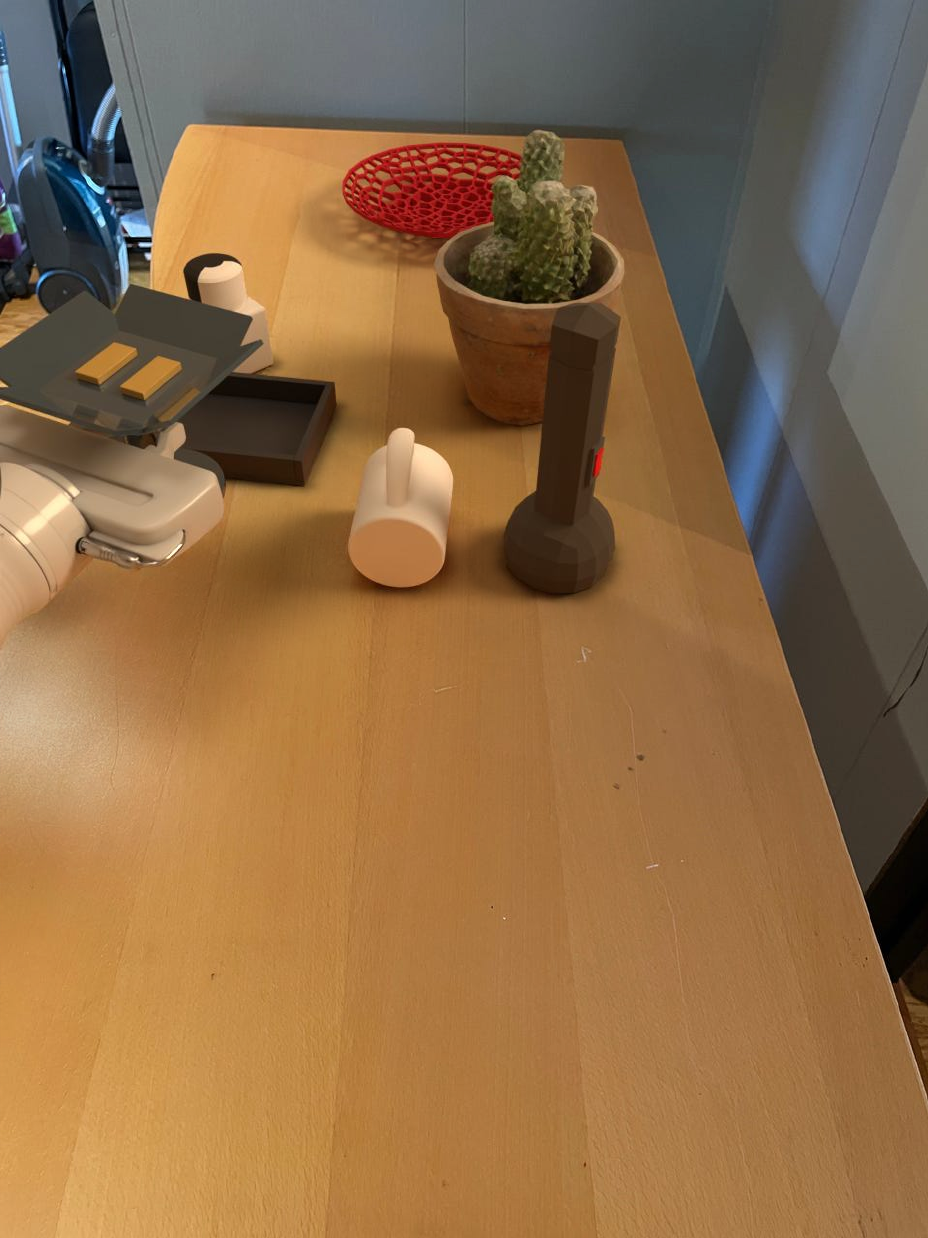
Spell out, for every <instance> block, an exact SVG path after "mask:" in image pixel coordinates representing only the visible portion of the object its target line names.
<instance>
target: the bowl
mask: <svg viewBox="0 0 928 1238" xmlns="http://www.w3.org/2000/svg"><path fill="white" fill-rule="evenodd" d="M432 149H433V151H431V152H426V151H423V150H432ZM452 149H462V151H454V150H452ZM469 150H470V151H469ZM471 150H473V151H471ZM474 150H475V151H474ZM411 151H415V152H417V153H418V154H417V155H412V154H411ZM405 152H406V155H407V156H402V155H400V153H401V154H402V153H405ZM483 152H489V153H492V154H493V153H494V155H485V154H483ZM441 155H448V156H450V157H448V158H446V157H442V156H441ZM501 155H502V156H505V157H507V160H505V161H503V160H500V159H499V157H500V156H501ZM434 157H436V158H437V161H434V162H431V163H428V162H427V161H428V159H430V158H434ZM462 157H463V158H462ZM393 159H397V160H398V161H392V160H393ZM513 159H514V160H513ZM479 160H481V162H480V161H479ZM515 160H517V161H515ZM375 161H376V162H375ZM416 161H418V162H421V163H423V164H420V165H416V163H415V162H416ZM377 162H378V163H381V164H378V163H377ZM519 162H520V163H522V158H521V154H519V153H516V152H513V151H510V150H507V149H505V148H500V147H496V146H495V147H494V146H489V145H485V144H478V143H477V144H476V143H467V142H441V141H440V142H431V143H430V142H428V143H419V144H417V143H416V144H408V145H403V146H398V147H393V148H390V149H387V150H383V151H381V152H377V153H375V154H372V155H370V156H368V157H366V158H364V159H362V160H359V162H358V163H356V164H355V165H353V166H352V167H351V168H349V170H348V171H347V172H346V175H345V176H344V178H343V180H342V187H341V188H342V189H341V190H342V192H341V193H342V196H343V199H344V201H345V204H346V205H347V206H348V207H349V208H350V209H351V210H352V211H353V212H354V213H356V214H357V215H358V216H360V217H361V218H363V219H365V221H368V222H370V223H373V224H374V225H375V224H376V225H378V226H380V227H382V228H385V229H388V230H391V231H394V232H400V233H404V234H408V235H412V236H418V237H425V238H432V239H443V240H444V239H447V240H448V239H451V238H453V237H454V236H455V235H457V234H458V233H459V232H462V231H465V230H467V229H470V228H472V227H476V226H479V225H483V224H486V223H490V222H494V219H493V212H492V210H491V205H492V200H493V199H494V194H493V191H492V185H493V184H494V183H495V182H492V181H490V180H492V179H494V178H496V177H499V176H509V177H510V178H512V179H514V180H515V181H516V180H517V179H519V176H520V172H517V173H512V172H511V170H514V169H517V170H518V171H520V169H521V168H520V165H519ZM403 163H410V165H409V166H402V164H403ZM453 163H454V164H455V163H456V164H459V165H461V166H457V167H453V166H451V165H450V164H453ZM471 163H472V164H474V165H475V169H473V168H470V167H468V166H465V165H466V164H471ZM366 165H370V166H371V167H373V169H371V168H368V167H367V166H366ZM485 167H489V168H490V167H491V168H494V169H496V170H493V171H491V172H488V173H486V172H482V171H480V170H481V169H483V168H485ZM360 169H362V170H363V173H357V172H358V171H359V170H360ZM434 169H442V170H443V169H444V170H445V171H447V172H448V173H447V174H439V173H437V174H436V173H433V171H432V170H434ZM378 172H382V173H385V174H388V175H389V176H390V178H388V179H386V180H383V179H381V178H379V177H378V176H377V175H376V174H377V173H378ZM422 172H423V173H422ZM425 172H426V173H425ZM413 173H414V174H415V175H412V176H410V175H408V174H413ZM368 174H369V175H372V177H369V176H368ZM459 174H466V175H468V176H471V177H472V178H458V177H455V176H454V175H459ZM395 175H396V176H395ZM359 180H365V181H366V182H367V183H368V184H369V185H368V186H365V187H364V186H363V185H361V184H360V183H359V182H358V181H359ZM349 181H350V182H351V183H352V185H351V184H349V183H348V182H349ZM402 182H406V183H409V184H403V183H402ZM427 183H429V184H427ZM373 184H377V185H379V186H380V188H379V187H376V186H374V185H373ZM394 185H395V186H396V187H397V189H398V190H399V191H397V192H396V191H395V192H390V191H387V190H385V189H386V188H388V187H391V186H394ZM346 189H347V190H348V191H349V192H348V191H346ZM370 193H374V194H376V195H378V197H377V196H376V195H375V196H374V195H372V194H370ZM383 198H384V199H387V200H389V201H391V202H388V203H387V202H385V201H384V200H383ZM371 202H373V203H371Z"/></svg>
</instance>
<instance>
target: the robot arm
mask: <svg viewBox="0 0 928 1238" xmlns="http://www.w3.org/2000/svg"><path fill="white" fill-rule="evenodd" d="M153 435H154V437H155V438H156V441H155V442H156V445H157V447H155V446H154V445H148V446H147V447H146V448H145V449H141V448H138V447H135V446H132V445H129V444H125V443H122V442H119V441H116V440H113V439H110V438H108V437H111V436H112V435H109V434H106V433H103V432H100V431H97V430H93V429H90V428H87V427H84V426H81V425H78V424H75V423H72V422H69V423H68V424H67V423H64V422H61V421H57V420H55V419H52V418H48V417H45V416H42V415H40V414H36V413H33V412H29V411H27V410H23V409H20V408H18V407H14V406H12V405H8V404H0V649H1V648H2V647H3V645H4V644H5V642H6V640H7V638H8V636H9V635H10V633H11V632H12V630H14V628H15V627H16V625H18V624H19V623H20V622H22V621H23V620H24V619H26V618H28V617H30V616H32V615H35V614H36V613H38V612H40V611H41V610H42V609H44V608H45V606H47V605H48V604H49V603H50V602H51V601H52V600H53V599H54V598H55V597H56V596H58V594H60V592H62V591H63V590H64V589H65V588H66V587H68V585H69V584H70V583H71V582H72V581H73V580H74V579H75V578H76V577H77V576H78V575H79V574H80V573H82V571H83V570H84V569H86V568H87V566H88V565H90V564H91V563H92V561H93V560H94V559H95V560H99V561H102V562H108V563H111V564H114V565H116V566H118V567H119V568H121V569H123V570H126V571H131V572H138V571H140V570H141V569H144V570H145V569H155V568H159V569H161V568H163V567H166V566H167V565H169V564H170V563H171V562H173V560H174V559H176V558H178V557H179V556H180V555H182V554H183V553H185V552H186V551H187V550H189V549H191V547H193V546H194V545H195V544H196V543H197V542H199V541H200V540H201V539H202V538H204V537H205V536H207V534H208V533H209V532H210V531H211V530H213V529H214V528H215V527H216V526H217V525H218V524H219V523H220V522H221V521H222V519H223V518H224V515H225V504H224V498H223V497H222V492H221V489H220V485H219V482H218V479H217V477H216V475H215V474H214V473H213V472H211V471H209V470H206V469H203V468H199V467H196V466H193V465H190V464H187V463H184V462H181V461H178V460H175V459H174V452H175V451H176V450H177V449H178V448H179V447H180V446H181V445H182V444H184V442H185V440H186V435H185V430H184V426H183V424H181V423H178V422H175V423H174V424H173V425H171V426H168V427H165V428H162V429H158V430H155V433H153ZM121 437H124V436H121Z"/></svg>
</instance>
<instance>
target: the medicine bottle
mask: <svg viewBox="0 0 928 1238" xmlns="http://www.w3.org/2000/svg"><path fill="white" fill-rule="evenodd" d="M182 272H183V278H184V282H185V287H186V292H187V295H188V299H189V300H193V301H197V302H200V303H204V304H208V305H212V306H215V307H219V308H223V309H226V310H230V311H234V312H238V313H241V314H245V315H249V316H251V317H252V318H253V320H252V322H251V324H250V327H249V329H248V331H247V333H246V335H245V337H244V339H243V342H242V344H241V346H243V345H246V344H249V343H251V342H254V341H257V340H260V339H261V340H262V341H263V343H264V344H263V345H262V346H261V347H260V348H259V349H257V350H256V351H255V352H254V353H253V354H252V355H251V356H250V357H248V358H247V359H246V360H245V361H244V362H243V363H242V364H241V365H239V366H238V367H237V368H236V369H235V370H234V371H233V372H238V373H248V374H255V373H256V372H259V371H261V370H263V369H266V368H268V367H270V366H272V365H273V364H274V357H273V351H272V345H271V339H270V338H271V337H270V331H269V330H270V329H269V324H268V318H267V312H266V308H265V307H264V306H263V305H261V303H259V302H257V301H256V300H254V299H253V298H252V297H250V296H249V295H247V288H246V283H245V277H244V270H243V265H242V263H241V262H240V260H239V259H237V258H236V257H234V256H232V255H230V254H227V253H221V252H219V253H218V252H209V253H204V254H200V255H197V256H195V257H193V258H190V260H188V261H187V262H186V264H185V265H184V266H183V269H182Z"/></svg>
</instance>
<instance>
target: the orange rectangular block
mask: <svg viewBox="0 0 928 1238" xmlns="http://www.w3.org/2000/svg"><path fill="white" fill-rule="evenodd" d="M137 355H138V354H137V351H136V348H133V347H129V346H126V345H122V344H119V343H115V342H114V343H112V344H111V345H110V346H108V347H107V348H106V349H104V350H103V351H102V352H100V353H99V354H98V355H96V356H95V357H94V358H92V359H91V360H90V361H88V362H87V363H86V364H84V365H83V366H82V367H80V368H79V369H78V370H76V371H75V374H76V377H77V379H80V380H84V381H87V382H90V383H93V384H97V385H100V384H102V383H103V382H104V381H105V380H107V379H108V378H109V377H110V376H112V375H113V374H114V373H116V372H117V371H118V370H119V369H121V368H122V367H123V366H125V365H126V364H127V363H128V362H130V361H131V360H132V359H134V358H135V357H136V356H137Z"/></svg>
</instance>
